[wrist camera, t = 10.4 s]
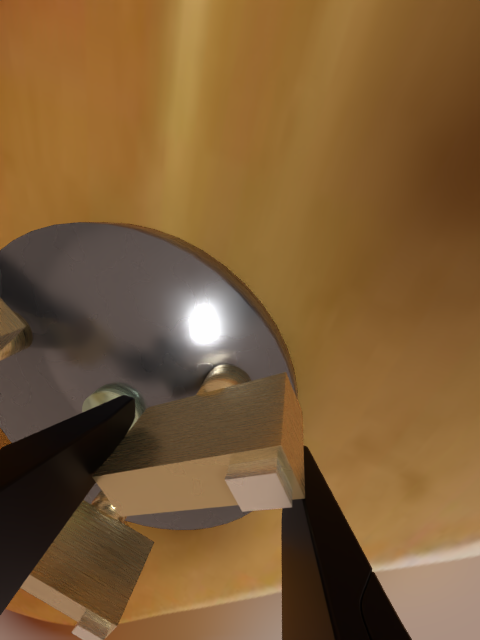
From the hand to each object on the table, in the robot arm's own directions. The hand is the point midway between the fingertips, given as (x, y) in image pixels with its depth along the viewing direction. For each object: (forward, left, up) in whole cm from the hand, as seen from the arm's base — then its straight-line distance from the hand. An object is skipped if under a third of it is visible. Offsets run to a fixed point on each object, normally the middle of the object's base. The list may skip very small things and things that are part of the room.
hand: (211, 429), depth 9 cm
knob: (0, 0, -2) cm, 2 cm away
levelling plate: (-6, -2, -4) cm, 7 cm away
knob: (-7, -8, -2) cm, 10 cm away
